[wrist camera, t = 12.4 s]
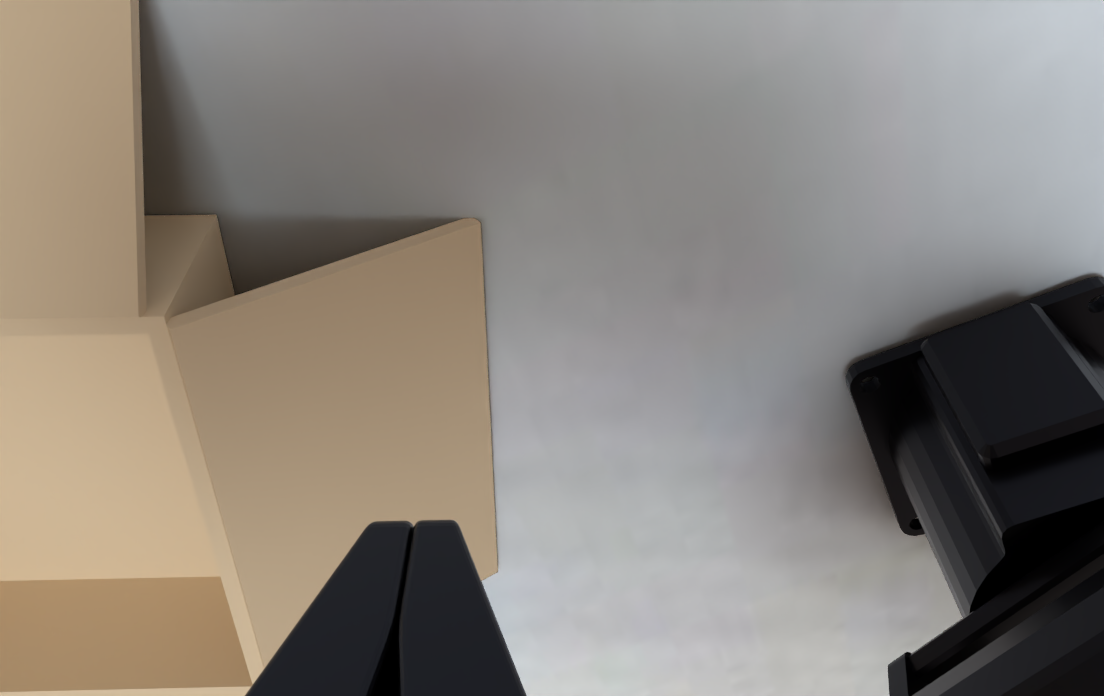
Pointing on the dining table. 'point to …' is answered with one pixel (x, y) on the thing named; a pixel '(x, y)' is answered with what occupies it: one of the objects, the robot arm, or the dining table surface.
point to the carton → (198, 396)
